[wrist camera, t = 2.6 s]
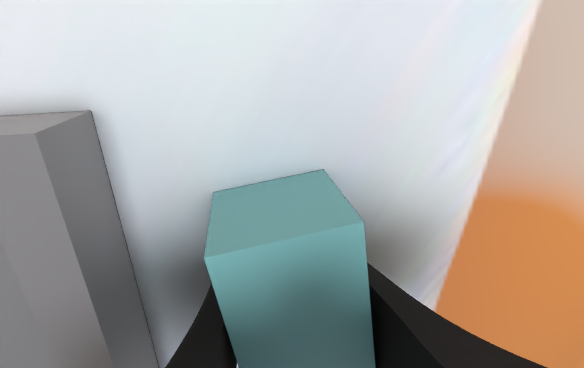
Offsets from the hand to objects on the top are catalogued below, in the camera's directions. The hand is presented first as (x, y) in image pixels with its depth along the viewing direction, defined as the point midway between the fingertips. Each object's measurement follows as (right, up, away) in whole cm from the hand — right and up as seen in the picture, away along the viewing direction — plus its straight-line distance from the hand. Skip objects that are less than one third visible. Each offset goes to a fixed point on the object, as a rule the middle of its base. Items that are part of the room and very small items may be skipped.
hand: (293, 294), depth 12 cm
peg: (0, +1, +1) cm, 1 cm away
